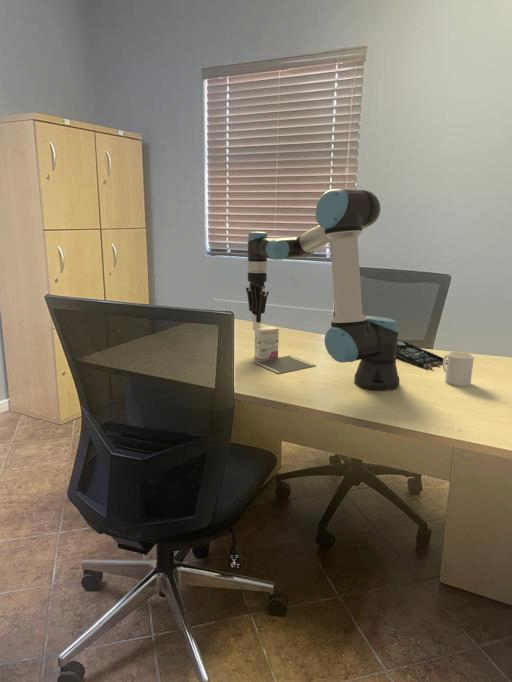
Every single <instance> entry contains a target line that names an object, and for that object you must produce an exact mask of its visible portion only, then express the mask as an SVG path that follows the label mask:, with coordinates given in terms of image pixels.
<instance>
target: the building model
mask: <svg viewBox="0 0 512 682" xmlns="http://www.w3.org/2000/svg"><path fill="white" fill-rule="evenodd" d="M396 358H399V359H401V360H403V361H406V362H408V363H410V364H413V365H415V366H417V367H419V368H422V369H423V370H424V369H425V370H427V371H429V370H431V371H433V372H435V370H434V369H433V368H432V367H434V366H435V367H437V368H440V369H441V366H438V365H443V359H444V357H441V356H439V355H437V354H435V353H432V352H430V351H428V350H426V349H422V348H421V347H418V346H416V345H414V344H411V343H410V342H408V341H407V342H406V341H404V340H403V341H402V340H401V341H398V342H397V353H396ZM447 360H448V359H447ZM447 360H446V366H447Z"/></svg>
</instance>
